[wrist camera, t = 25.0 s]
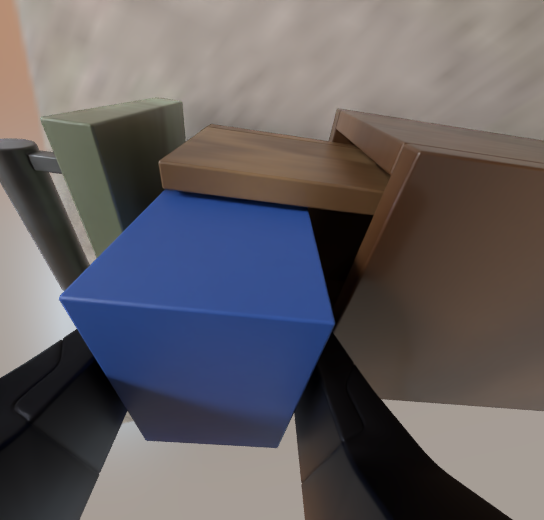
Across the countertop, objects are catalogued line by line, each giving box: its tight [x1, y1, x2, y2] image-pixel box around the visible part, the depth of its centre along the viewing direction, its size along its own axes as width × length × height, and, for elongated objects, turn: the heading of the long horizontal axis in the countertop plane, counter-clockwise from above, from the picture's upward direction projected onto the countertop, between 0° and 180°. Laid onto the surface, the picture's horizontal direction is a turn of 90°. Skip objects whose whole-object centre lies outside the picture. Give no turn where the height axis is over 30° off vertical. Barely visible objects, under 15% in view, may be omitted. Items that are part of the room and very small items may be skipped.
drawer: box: [0, 98, 391, 311], centre depth 12 cm, size 18×10×7 cm, turn 83°
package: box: [59, 189, 335, 448], centre depth 8 cm, size 7×4×5 cm, turn 173°
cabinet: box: [329, 109, 544, 411], centre depth 12 cm, size 15×12×9 cm
